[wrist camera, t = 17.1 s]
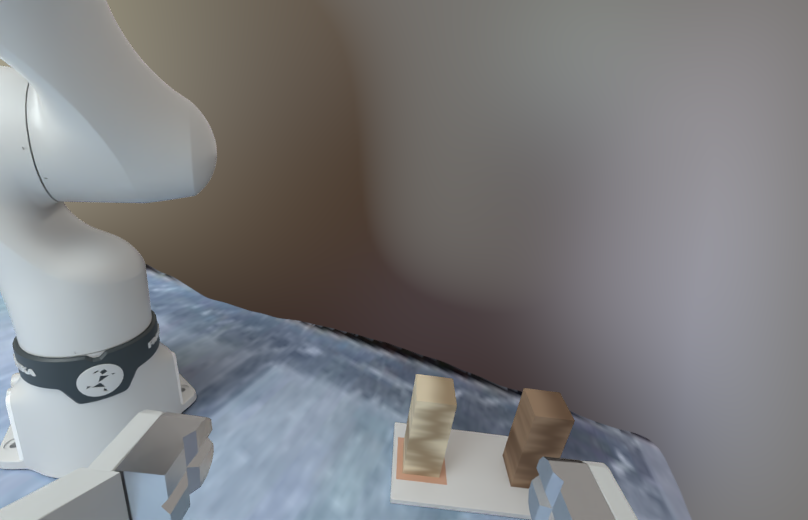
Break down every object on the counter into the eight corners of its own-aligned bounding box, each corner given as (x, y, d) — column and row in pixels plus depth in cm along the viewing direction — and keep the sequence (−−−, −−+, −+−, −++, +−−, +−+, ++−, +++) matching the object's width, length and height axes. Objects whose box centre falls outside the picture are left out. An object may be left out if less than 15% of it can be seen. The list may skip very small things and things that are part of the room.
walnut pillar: (510, 486, 45) (535, 415, 41) (502, 455, 49) (524, 388, 45) (546, 490, 45) (574, 420, 41) (535, 459, 49) (559, 392, 45)
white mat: (390, 502, 41) (390, 498, 41) (394, 425, 52) (395, 421, 51) (566, 523, 42) (568, 519, 42) (536, 443, 52) (537, 439, 52)
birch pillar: (402, 473, 44) (416, 400, 40) (403, 442, 48) (416, 374, 44) (439, 477, 44) (456, 405, 40) (437, 446, 48) (452, 378, 44)
